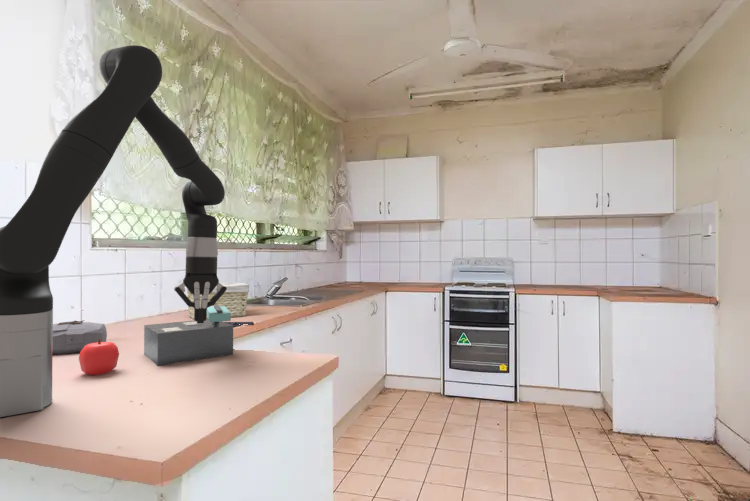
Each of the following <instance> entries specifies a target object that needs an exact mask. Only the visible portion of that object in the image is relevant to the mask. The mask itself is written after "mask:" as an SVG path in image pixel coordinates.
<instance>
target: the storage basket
mask: <svg viewBox="0 0 750 501" xmlns="http://www.w3.org/2000/svg"><path fill="white" fill-rule="evenodd" d="M219 283H220V284H221V285H223V286H225V287H226V288H227V290H226V291H225V292H224V293H223V295H222V296H221V297H220V298H219V299H218V301H217V302H216V303H215V304H214V305H219V306H225V307H226V308H227V309H228V311H229V312H230V313H231V318H239V316H240V317H246V314H247V306H248V305H247V304H248V303H247V302H248V297H249V296H248V295H249V292H250V285H249V283H245V282H219ZM216 288H217V286H216V287H215V288H214V290H213V291H212V292H211V293H210V294H209V296H208V301H210V299H211V298H212V297H213V296H214V295H215V293H216V292H217V291H216ZM186 290H187V291H186V292H187V297H188V298H189V300H190V301H191V302H194V299H193V294H191V293H190V291H189V290H188V289H187V288H186ZM201 300H202V294H201V295H200V308H201ZM214 305H213V306H214ZM187 307H188V317H189V318H192V319H193V320H194V308H193V307H189V306H188V305H187ZM206 319H208V316H207V318H206Z"/></svg>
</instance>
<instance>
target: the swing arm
mask: <svg viewBox="0 0 750 501" xmlns="http://www.w3.org/2000/svg"><path fill="white" fill-rule="evenodd" d="M207 316H208V319H209V321H210V322H221V321H222V322H232V321H231V318H232V317H231V313H230V312H229V311H228V309H227V308H226V307H225V306H219V305H214V306H210V307H208V308H207Z"/></svg>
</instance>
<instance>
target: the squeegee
mask: <svg viewBox="0 0 750 501" xmlns="http://www.w3.org/2000/svg"><path fill="white" fill-rule="evenodd" d="M223 322H224V323H227V324H230V325H233V328H235V327H242V326H241V325H243V324H248V325H247V326H254V321H223ZM239 324H240V325H239Z"/></svg>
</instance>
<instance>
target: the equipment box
mask: <svg viewBox="0 0 750 501" xmlns="http://www.w3.org/2000/svg"><path fill="white" fill-rule="evenodd" d="M224 322H225V321H221V322H210V321H209V319H206V321H204V323H199V324H197V321H195V320H194V319H193V320H188V321H187V320H184V321H183V320H182V321H176V322H174V321H173V322H163V323H153V324H144V325H143V331H144V332H143V337H144V338H143V347H144V348H143V354H144V356H146V357H147V358H148V359H149V360H150V361H151V362H152V363H154V365H155V366H157V367H159V366H166V365H172V364H173V365H174V364H178V363H179V364H180V363H186V362H194V361H201V360H206V359H207V360H208V359H213V357H214V358H220V357H221V358H222V357H228V356H233V355H234V327H233V325H230V324H227V323H224Z"/></svg>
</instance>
